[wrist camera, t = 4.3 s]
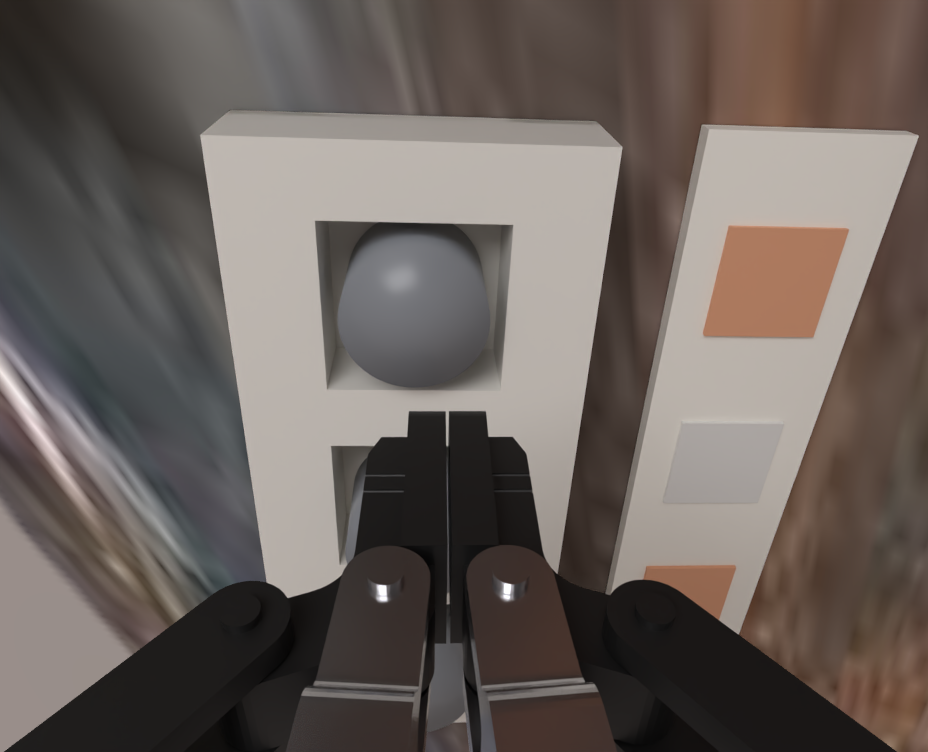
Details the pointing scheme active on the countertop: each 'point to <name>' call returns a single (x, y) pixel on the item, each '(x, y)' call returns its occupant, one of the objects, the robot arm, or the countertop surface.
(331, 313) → the button panel
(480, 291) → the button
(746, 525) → the pattern card
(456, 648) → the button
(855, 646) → the countertop surface
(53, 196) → the countertop surface
